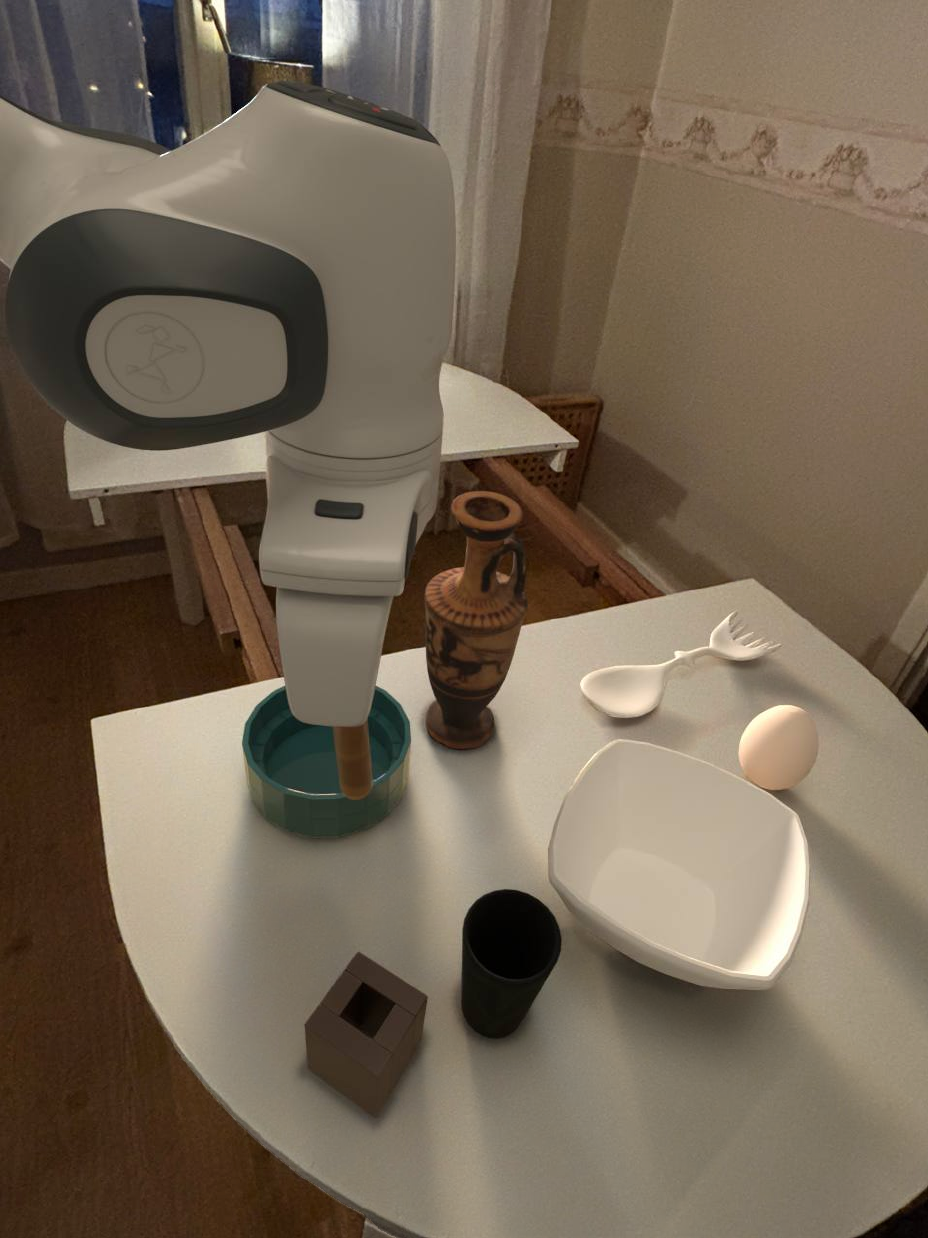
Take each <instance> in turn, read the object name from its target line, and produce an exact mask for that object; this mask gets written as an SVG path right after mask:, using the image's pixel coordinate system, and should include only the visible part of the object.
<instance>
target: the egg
mask: <svg viewBox="0 0 928 1238" xmlns="http://www.w3.org/2000/svg"><path fill="white" fill-rule="evenodd" d="M818 754H819V733H818V730H817V725H816V723H815V721H814V719H812V717H811V715H810V714H809V713H808V712H807V711H805V710H804V709H802V708H801V707H798V706H795V705H791V704H785V705H783V704H781V705H775V706H773V707H771V708H768V709H766V710H764V711H763V712H761V713H759V714H758V715H757V716H756V717H754V718H753V719H752V720H751V721H750V723H749V724H748V725H747V726H746V727H745V729H744V731H743V733H742V735H741V738H740V740H739V746H738V759H739V764H740V767H741V768H742V771H743V773H744V774H745V776H746V777H747V778H748V779H749V780H750V781H751V782H752V784H753V785H755V786H757V787H759V788H761V789H765V790H770V791H781V790H786V789H788V788H792V787H794V786H796V785H798V784H799V783H801V782H802V781H803V780H804V779H805V778H806V777H808V775H809V774H810V773H811V771H812V769H813V767H814V765H815V763H816V760H817V758H818Z"/></svg>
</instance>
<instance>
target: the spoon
mask: <svg viewBox="0 0 928 1238" xmlns="http://www.w3.org/2000/svg"><path fill="white" fill-rule="evenodd" d="M738 614H739V611H738V610H736V611H733V612H732V613H730V614H729V615H728V616H726V617H725V618H724V619H723V620H722V621H721V622H720V624H718V625H717V626H716V627H715V628H714V629H713V631H711V634H710V640H709V646H701V647H697V648H695V649H693V650H688V651H682V650H676V651H675V652H674V657H675V658H673V659H671V660H669V661H666V662H664V663H661V664H652V665H651V664H649V665H614V666H609V667H608V666H607V667H605V668H604V667H603V668H600V669H597V670H593V671H591V672H589V673H587V674H586V675H585V676H584V677H583V678H582V679H581V682H580V684H579V685H580V686H579V687H580V692H581V695H582V696H583V698H584V699H585V701H586V702H587V703H588V704H589V705H590V706H591V707H592V708H593V709H595V710H596V711H598V712H600V713H602V714H604V715H607V716H610V717H614V718H621V719H622V718H624V719H629V718H637V717H641V716H644V715H646V714H648V713H650V712H651V711H653V710H654V709H655V708H656V707H657V706H658V705H659V704H660V702H661V700H662V698H663V696H664V692H665V688H666V683H667V679H668V675H669V674H670V673H671V671H672V670H673V669H674V668H676V667H678V666H685V667H689V668H690V667H694V665H695V664H696V663H695V661H696V660H697V659H699V658H701V657H704V656H712V657H716V658H720V659H724V660H729V661H738V662H744V661H751V660H754V659H758V658H761V657H763V656H767V655H770V654H772V653H775V652H777V651H778V650H780V648H782V646H783V644H782V643H778V644H776V645H773V646H771V644H773V640H770V641H767V642H765V643H764V644H763V642H764V641H765V639H766V637H761V638H759V639H757V640H755V641H753V642H751V643H749V642H750V641H751V640H752V639H753V638H754V637H755V636H756V634H757V632H756V631H752V632H748V633H746V634H744V635H743V636H739V635H740V634H742V633H743V632H744V631H745V630H746V629H747V628H748V626H749V624H744V625H742V626H741V627H739V628H737V627H738V626H739V625H740V624H741V623H742V622H743V620H744V619H743V618H739V619H737V620H735V621H734V622H732V621H733V620H734V619H735V618H736V617H737V616H738ZM735 628H736V629H735ZM748 643H749V644H748ZM761 643H762V644H761ZM760 644H761V645H760Z"/></svg>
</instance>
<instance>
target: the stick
mask: <svg viewBox="0 0 928 1238" xmlns="http://www.w3.org/2000/svg"><path fill="white" fill-rule="evenodd" d="M333 735H334V743H335V751H336V759H337V767H338V776H339V784H340V789H341V791H342V793H343V794H344V795H345V796H346V797H347V798H349V799H352V800H359V799H362V798H364V797H366V796H367V795H368V794H369V793H370V791H371V789H372V785H373V779H372V767H371V754H370V741H369V729H368V718H367V720H366V722H365V723H364V724H362V725H361V726H356V727H333Z"/></svg>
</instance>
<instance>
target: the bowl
mask: <svg viewBox="0 0 928 1238" xmlns="http://www.w3.org/2000/svg"><path fill="white" fill-rule="evenodd" d="M558 810H559V811H558V812H557V815H556V818H555V821H554V823H553V827H552V832H551V836H550V840H549V845H548V848H547V868H548V869H547V871H548V873H547V874H548V881H549V883H550V885H551V886H552V888H553V889H554V891H555V892H556V894H557V896H558V897H559V898H560V900H561V902H562V903H563V905H564V907H565V908H566V909H567V911H568V913H570V915H572V916H573V917H574V918H575V920H577V922H578V923H580V924H581V926H583V928H585V929H586V930H588V931H589V932H591V933H592V934H593V935H595V936H596V937H598V938H599V939H601V940H602V941H603V942H605V943H606V944H607V945H609V946H610V947H612V948H613V949H615V950H616V951H618V952H620V953H622V954H623V955H625V956H627V957H628V958H630V959H631V960H633V961H635V962H637V963H639V964H641V965H644V966H646V967H648V968H649V969H652V970H655V971H657V972H660V973H661V974H664V975H667V976H670V977H673V978H676V979H678V980H682V981H685V982H688V983H691V984H694V985H698V986H700V987H707V988H716V989H723V990H724V989H728V990H751V991H768V990H769V989H771V988H772V987H773V986H774V985H776V983H777V981H779V979H780V978H781V977H782V976H783V974H784V973H785V972H786V971H787V970H788V969H789V968H790V965H791V963H792V960H793V958H794V956H795V953H796V951H797V948H798V946H799V944H800V941H801V939H802V934H803V931H804V926H805V923H806V918H807V914H808V910H809V906H810V893H811V891H810V890H811V862H810V852H809V851H810V850H809V844H808V840H807V837H806V833H805V831H804V827H803V825H802V822H801V819H800V817H799V814H798V813H797V812H795V811H794V810H793V809H792V808H790V807H789V806H788V805H786V804H785V803H784V802H782V801H781V800H779V798H777V797H775V796H774V795H773V794H771V793H769V792H768V791H766V790H764V789H763V788H761V787H759V786H758V785H756V784H754V783H751V782H749V781H747V780H745V779H744V778H742V777H740V776H738V775H736V774H734V773H732V772H730V771H728V770H725V769H723V768H721V767H719V766H717V765H715V764H712V763H711V762H708V761H706V760H702V759H700V758H697V757H695V756H692V755H689V754H686V753H684V752H681V751H678V750H674V749H671V748H668V747H664V746H661V745H657V744H653V743H650V742H646V741H639V740H631V739H625V738H616V739H614V740H612V741H611V742H609V743H608V744H606V745H605V746H603V747H602V748H600V749H599V750H598V751H597V752H595V753H594V754H593V756H591V758H590V759H589V760H588V762H587V763H586V764H585V765H584V766H583V767H582V768H581V770H580V771H579V773H578V775H577V776H576V778H575V779H574V781H573V782H572V784H571V786H570V787H569V788H568V791H567V792H566V794H565V795H564V796H563V800H562V803H561V805H560V807H559V809H558Z"/></svg>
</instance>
